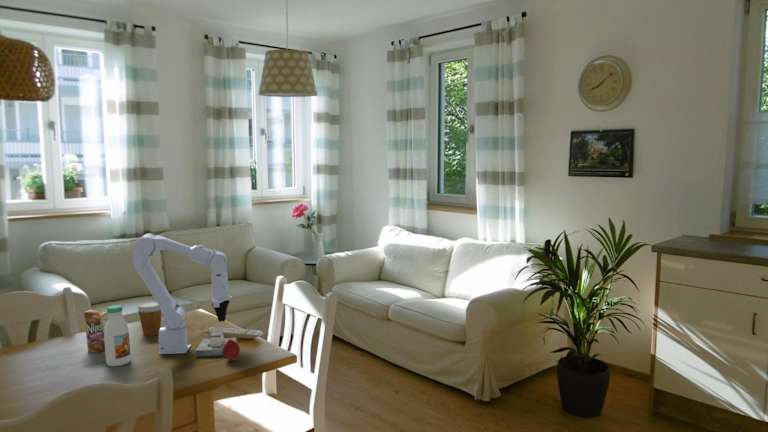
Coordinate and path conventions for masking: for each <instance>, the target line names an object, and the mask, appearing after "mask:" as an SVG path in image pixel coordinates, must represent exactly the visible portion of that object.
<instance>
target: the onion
mask: <svg viewBox="0 0 768 432" xmlns="http://www.w3.org/2000/svg"><path fill="white" fill-rule="evenodd" d="M228 338H229V340H228V342H226V343H225V345H224V346H223V348H222V353H223V355H224V356H223V357H224V358H226V360H228V361H230V362H231V361H234V360H235V359H236V358H237V357H238V356H239V354H240V353H241V351H240V349H241V348H240V346H239V345H238V343H237V341H236V342H235V341H233V340H231V338H232V337H228Z"/></svg>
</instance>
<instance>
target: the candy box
mask: <svg viewBox="0 0 768 432" xmlns="http://www.w3.org/2000/svg"><path fill="white" fill-rule="evenodd" d="M107 313H108V312H107V310H102V309H101V310H100V309H95V308H92V309H89V310H86V311H84V312H83V315H84V325H85V327H84V328H85V333H86V346H87V352H88V351H91V352H90V353H95V352H96V354H101V353H102V355H106V354H105V340H104V329H105V326H106V323H107V320H108V314H107Z"/></svg>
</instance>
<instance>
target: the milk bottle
mask: <svg viewBox="0 0 768 432" xmlns="http://www.w3.org/2000/svg"><path fill="white" fill-rule="evenodd" d="M106 309H107V310H106V311H107V312H108V313H107V314H108V320H107V323H106V326H105V329H104V340H105V354H104V355H105V362H106V365H107V366H109V367H120V366H124V365H127V364H129V363H130V362H131V359H132V358H131V343H130V332H129V331H130V330H129V327H128V324H127V321H126V320H125V319H124V316H123V306H122V305H120V304H113V305H110V306H107V308H106Z"/></svg>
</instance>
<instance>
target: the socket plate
mask: <svg viewBox="0 0 768 432" xmlns="http://www.w3.org/2000/svg"><path fill="white" fill-rule="evenodd" d="M229 338H231V340H233V341H235V342H236V343H237V337H223V339H224V344H223V345H222V346H213V347H210V338H202V341H201V342H200V343H199V344H198V346H197V347H196V349H195V350H194V351H195V352H194V353H195V354H194V355H195V358H207V357H208V358H212V357H213V358H215V357H224V355H223V353H222V348H223V346H224V345H225V343H226V342H228V340H229Z"/></svg>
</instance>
